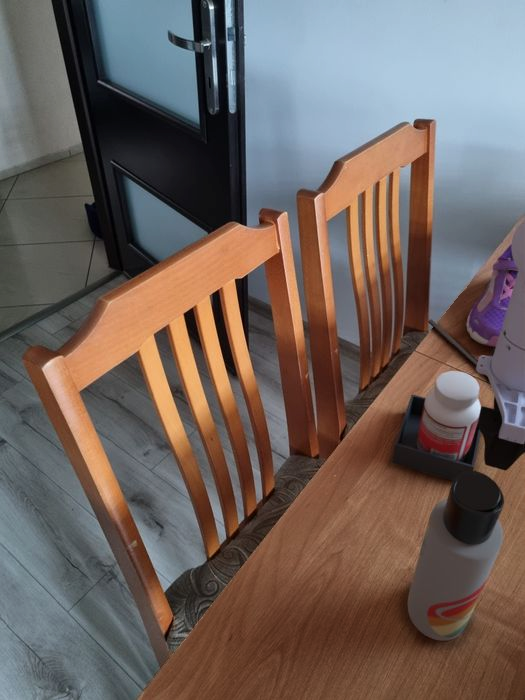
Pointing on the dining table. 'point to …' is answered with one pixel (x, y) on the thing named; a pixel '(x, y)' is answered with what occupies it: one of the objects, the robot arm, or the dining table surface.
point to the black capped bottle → (456, 556)
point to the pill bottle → (450, 416)
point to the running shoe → (493, 302)
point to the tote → (426, 461)
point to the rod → (453, 342)
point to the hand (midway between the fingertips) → (500, 437)
